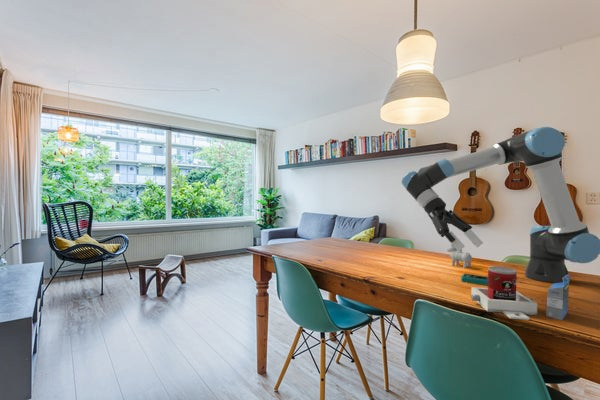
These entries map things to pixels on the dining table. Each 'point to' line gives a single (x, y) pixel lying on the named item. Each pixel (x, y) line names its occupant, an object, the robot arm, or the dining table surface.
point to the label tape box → (558, 299)
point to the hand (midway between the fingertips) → (471, 247)
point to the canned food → (502, 283)
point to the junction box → (505, 304)
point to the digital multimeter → (474, 279)
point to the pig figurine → (459, 256)
